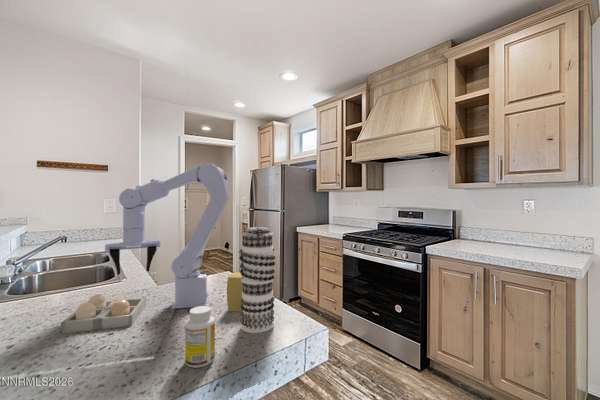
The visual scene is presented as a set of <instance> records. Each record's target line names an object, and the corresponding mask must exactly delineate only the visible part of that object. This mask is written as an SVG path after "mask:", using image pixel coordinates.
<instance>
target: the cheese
mask: <svg viewBox="0 0 600 400" xmlns="http://www.w3.org/2000/svg"><path fill="white" fill-rule="evenodd" d="M241 277H242V275H241V273H240V271H237V272H236V271H235V272H232V273H230V274H229V275H228V277H227V281H226V282H227V283H226V302H227V310H228V312H241V311H242V309H241V305H242V303H241V298H242V291H243V282H242V281H241Z"/></svg>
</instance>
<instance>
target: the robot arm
mask: <svg viewBox="0 0 600 400" xmlns="http://www.w3.org/2000/svg"><path fill="white" fill-rule="evenodd" d="M149 180H150V182H148V183H145V184H142V185H140V184H139V185H136V186H135V189H133V188H126V189H125V190H123V191H121V193H120V194H119V197H118V200H119V201H118V202H119V203H120V205H121V206H122V207H123V208H122V210H123V211H122V221H123V222H122V242H113V243H105V245H104V251H105V252H109V255H110V257H111V259H112V261H113V263H114V266H115V269H116V273H117V275H121V264H120V263H121V262H120V259H121V256H120V254H121V251H122V250H135V249H146V269H145V270H146V272H150V267H151V264H152V261H153V258H154V256H155V255H156V253H157V250H158V249H157V248H161V240H145V233H146V231H145V226H146V225H145V223H146V222H145V221H146V220H145V217H146V215H145V214H146V213H145V211H146V206H148V204H150V203H153V202H155V201H158V200H161V199H163V198H166V197H168V195H169V194H170V191H173V190H176V189H178V188H182V187H184V186H186V185H187V186H188V185H189V184H193V183H197V184H198V183H199V184H202V185H203V186H205V188H206V189H207V193H208V194H209V196H210V200H209V201H208V203H207V205H206V207H205V209H204V211H203V213H202V215H201V217H200V219H199V221H198V223H197V225H196V227H195V228H194V231H193V233H192V235H191V237H190V239H189V241H188V243H187V244H186V245H185V247H184V248H183V249H182V250H181V252H180V254H179V255H178V256H176V258H174V259H173V261H172V262H171V271H172V273H173V275H174V301H173V303H172V305H171V309H175V310H177V309H187V308H194V307H198V306H207V305H206V304H207V298H208V291H207V290H208V289H207V286H208V285H207V283H208V282H207V281H208V280H207V279H208V277H207V274H206V273H201V271H200V267H201V266H202V263H203V256H204V254H205V247H206V246H207V243H208V242H209V239H210V237H211V236H212V234H213V231H214V230H215V228H216V225H217V224H218V221H219V219H220V218H221V215H222V214H223V212H224V210H225V207H226V205H227V204H228V202H229V200H230V193H229V192H230V191H229V177H228V176H227V173H226V172H225V170H224V169H222V167H217V165H215V164H212V163H205V164H202V165H198V166H195V167H194V168H191V169H188V170H186V171H184V172H182V173H180V174H177V175H175V176H173V177H171V178H169V179H167V180H162V179H159V178H158V179H156V178H153V179H149ZM120 250H121V251H120Z"/></svg>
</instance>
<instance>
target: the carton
mask: <svg viewBox="0 0 600 400" xmlns="http://www.w3.org/2000/svg"><path fill="white" fill-rule="evenodd" d="M124 300H127V301H128V302H129V304H130V314H129V315H122V316H111V308H112V305H113V304H114V303H115V302H116V301H117V299H115V300H113V299H112V300H106V308H105V309H96V317H95V318H91V319H80V320H76V311H75V312H73V313H72V314H70V315H69V316H68V317H66V318H65V319H64V320H62V321H61V322H60V333H61V334H68V333H77V332H86V331H96V330H105V329H113V328H114V329H115V328H124V327H132V326H133V325H134V323H135V322H136V320H137V319H138V318H139V316H140V315H141V313H142V312H143V311H144V309H145V308H146V306H147V298H146V297H139V298H138V297H137V298H127V299H124Z"/></svg>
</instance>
